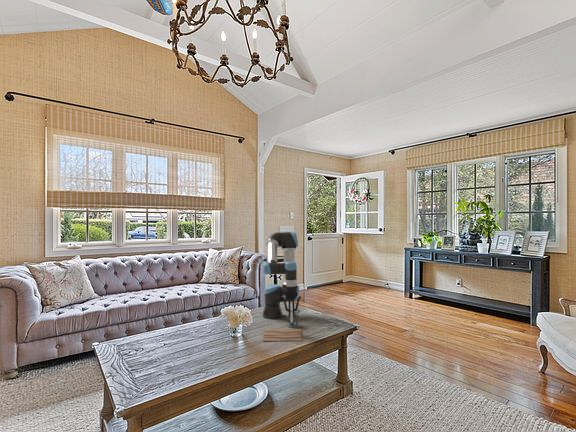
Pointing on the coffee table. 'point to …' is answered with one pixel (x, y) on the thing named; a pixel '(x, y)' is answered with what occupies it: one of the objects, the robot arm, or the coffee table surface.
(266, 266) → the robot arm
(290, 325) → the figurine
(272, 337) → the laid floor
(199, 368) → the coffee table surface
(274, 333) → the plank
